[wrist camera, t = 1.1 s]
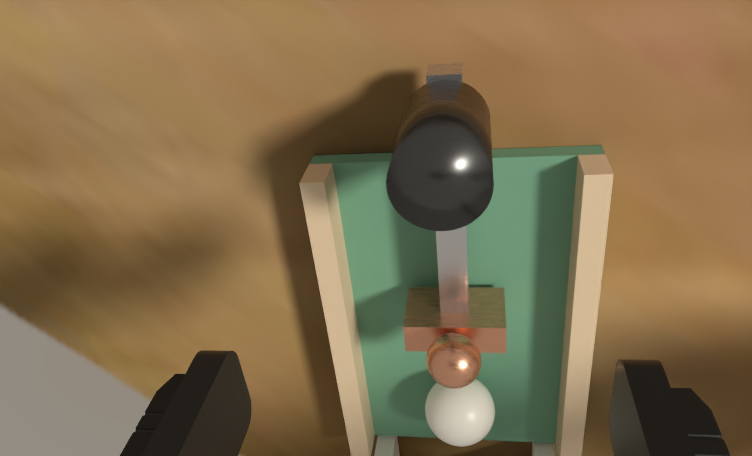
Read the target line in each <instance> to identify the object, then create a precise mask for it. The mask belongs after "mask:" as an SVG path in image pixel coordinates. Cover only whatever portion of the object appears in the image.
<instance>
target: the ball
mask: <svg viewBox="0 0 752 456" xmlns="http://www.w3.org/2000/svg"><path fill="white" fill-rule="evenodd" d="M425 414H426V419H427V422H428V425H429V427H430V428H431V430H432V432H433V433H434V434H435V435H436V436H437V437H438V438H439V439H440V440H442V441H443V442H445V443H447V444H450V445H453V446H459V447H463V446H470V445H473V444H475V443H477V442H479V441H480V440H482V439H483V438H484V437H485V436H486V435H487V434H488V432H489V431H490V429H491V427H492V425H493V422H494V418H495V406H494V402H493V398H492V396H491V394H490V392H489V391H488V389H487V388H486V387H485V386H484V385H483V384H482V383H481V382H480V381H479V380H477V379H475V380H474V381H473V382H472V383H471V384H469V385H468V386H465V387H463V388H459V389H451V388H446V387H444V386H442V385H440V384H438V383H436V384H435V385H434V386H433V387H432V388H431V390H430V392H429V393H428V396H427V399H426V404H425Z"/></svg>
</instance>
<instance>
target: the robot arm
mask: <svg viewBox="0 0 752 456" xmlns="http://www.w3.org/2000/svg"><path fill="white" fill-rule="evenodd" d="M250 419H251V399H250V395H249V392H248V389H247V385H246V382H245V379H244V375H243V372H242V369H241V365H240V362H239V359H238V356H237V354H236V353H235V352H234V351H199V352H198V353H197V354H196V356H195V357H194V359H193V361H192V363H191V365H190V367H189V368H188V370H187V372H186V374H175V375H174V376H173V377H172V378H171V379H170V380H169V381H167V382H166V383H165V384H164V385H163V386H162V387H161V388H160V389H159V390H158V391H157V392H156V394H155V395H154V397H153V399H152V401H151V402H150V404H149V406H148V408H147V409H146V411H145V416H142V418H141V420H140V421H139V423H138V425H137V427H136V431H135V432H134V433H133V434H132V436H131V437H130V439H129V441H128V442H127V444H126V446H125V448H124V449H123V451H122V453H121V455H120V456H238V454H239V451H240V448H241V446H242V443H243V441H244V438H245V435H246V433H247V430H248V427H249V424H250ZM610 435H611V442H612V446H613V451H614V455H615V456H730V454H729V451H728V449H727V446H726V444H725V442H724V440H723V439H722V437H721V432H720V430H719V427H718V425H717V423H716V420H715V418H714V416H713V413H712V411H711V409H710V408H709V407H708V406H707V405H706V404H705V403H704V402H703V401H702V400H701V399H700V398H699V397H698V396H697V395H696V394H695V393H694V392H693V390H692V389H691V388H670V385H669V382H668V380H667V377H666V374H665V371H664V369H663V366H662V364H661V362H660V361H658V360H618V362H617V365H616V372H615V379H614V386H613V393H612V400H611V407H610Z"/></svg>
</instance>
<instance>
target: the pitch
mask: <svg viewBox="0 0 752 456" xmlns="http://www.w3.org/2000/svg"><path fill="white" fill-rule="evenodd" d="M392 154H393V153H368V154H340V155H314V156H313V157H312V159H311V161H310V163H309V165H308V167H307V169H306V171H305V173H304V175H303V177H302V179H301V181H300V183H299V184H300V190H301V195H302V200H303V205H304V211H305V216H306V221H307V226H308V232H309V237H310V242H311V247H312V253H313V258H314V263H315V269H316V274H317V279H318V284H319V290H320V295H321V300H322V305H323V311H324V316H325V321H326V326H327V332H328V337H329V342H330V347H331V353H332V358H333V363H334V368H335V374H336V379H337V384H338V389H339V395H340V400H341V405H342V410H343V416H344V421H345V426H346V431H347V437H348V442H349V447H350V453H351V456H371V454H372V448H373V442H374V436H375V435H384V436H406V437H429V438H438V437H437V436H436V435H435V434H434V433H433V432H432V430H431V428H430V427H429V425H428V422H427V419H426V414H425V404H426V399H427V396H428V393H429V392H430V390H431V388H432V387H433V386H434V385H435V384H436V383H437V382H436V381H435V380H434V379H433V378H432V377H431V375H430V373H429V371H428V368H427V364H426V356H427V352H423V351H405V342H404V333H403V323H404V317H405V310H406V303H407V297H408V290H409V287H439V278H438V261H437V245H436V231H432V230H427V229H423V228H420V227H417V226H415V225H413V224H411V223H410V222H408V221H407V220H405V219H404V218H403V217H402V216H401V215H400V214H399V213H398V212H397V211H396V210H395V208H394V207H393V205H392V204H391V202H390V200H389V197H388V194H387V188H386V178H387V173H388V169H389V165H390V161H391V158H392ZM492 161H493V180H494V188H493V194H492V198H491V201H490V203H489V205H488V207H487V208H486V210H485V211H484V212H483V213H482V214H481V215H480V216H479V217H478V218H477V219H476V220H475V221H473V222H472V223H470V224H468V225H467V243H468V277H469V287H482V288H504V296H505V312H506V327H507V335H506V353H480V354H481V360H482V362H481V369H480V372H479V374H478V376H477V377H476V379H477V380H479V381H480V382H481V383H482V384H483V385H484V386H485V387H486V388H487V389H488V391H489V392H490V394H491V396H492V398H493V402H494V406H495V418H494V422H493V425H492V427H491V429H490V431H489V432H488V434H487V435H486V436H485V437H484V438H483V439H482V440H496V441H518V442H541V443H555V444H556V451H557V456H582V448H583V439H584V430H585V421H586V412H587V404H588V395H589V386H590V377H591V368H592V359H593V351H594V342H595V333H596V324H597V315H598V307H599V298H600V289H601V280H602V271H603V263H604V254H605V245H606V236H607V227H608V218H609V210H610V201H611V192H612V183H613V172H612V169H611V167H610V165H609V162H608V160H607V157H606V155H605V153H604V150H603V148H602V145H590V146H563V147H535V148H507V149H492Z"/></svg>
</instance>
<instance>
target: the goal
mask: <svg viewBox="0 0 752 456" xmlns="http://www.w3.org/2000/svg"><path fill="white" fill-rule="evenodd" d="M374 456H400V454H399V446H398V438H397V436H384V435H378V437H377V443H376V449H375V455H374ZM532 456H554V449H553V443H541V442H532Z"/></svg>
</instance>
